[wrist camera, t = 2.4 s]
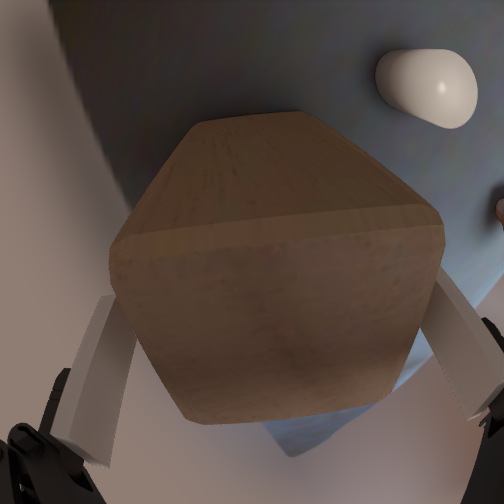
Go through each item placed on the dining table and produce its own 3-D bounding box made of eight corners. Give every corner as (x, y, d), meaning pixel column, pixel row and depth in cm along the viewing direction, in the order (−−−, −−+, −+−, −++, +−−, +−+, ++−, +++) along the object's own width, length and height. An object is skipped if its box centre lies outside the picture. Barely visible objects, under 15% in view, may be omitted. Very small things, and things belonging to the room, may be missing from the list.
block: (208, 225, 29) (184, 432, 12) (189, 121, 24) (84, 260, 7) (313, 213, 29) (393, 405, 12) (309, 108, 23) (465, 218, 7)
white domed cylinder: (373, 45, 20) (415, 42, 14) (429, 54, 20) (477, 58, 14) (375, 109, 23) (415, 125, 18) (429, 113, 23) (475, 131, 17)
